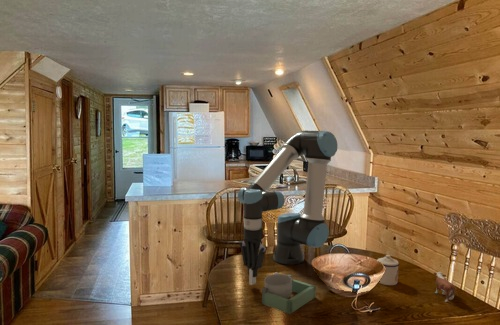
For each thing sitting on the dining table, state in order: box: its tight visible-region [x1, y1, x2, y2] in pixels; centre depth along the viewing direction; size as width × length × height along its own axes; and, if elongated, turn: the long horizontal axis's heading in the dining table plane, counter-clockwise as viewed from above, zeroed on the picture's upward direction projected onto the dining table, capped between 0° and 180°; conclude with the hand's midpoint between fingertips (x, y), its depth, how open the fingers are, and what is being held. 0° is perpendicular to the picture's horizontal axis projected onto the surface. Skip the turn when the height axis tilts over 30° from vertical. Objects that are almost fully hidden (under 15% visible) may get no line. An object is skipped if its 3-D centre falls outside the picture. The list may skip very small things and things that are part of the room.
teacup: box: [263, 271, 293, 299], centre depth 151 cm, size 14×11×8 cm
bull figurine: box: [433, 271, 456, 303], centre depth 153 cm, size 4×13×8 cm, turn 176°
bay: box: [261, 274, 316, 315], centre depth 148 cm, size 18×12×6 cm
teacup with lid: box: [376, 254, 400, 286], centre depth 168 cm, size 12×9×12 cm
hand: (252, 283), depth 159 cm, fingers closed
